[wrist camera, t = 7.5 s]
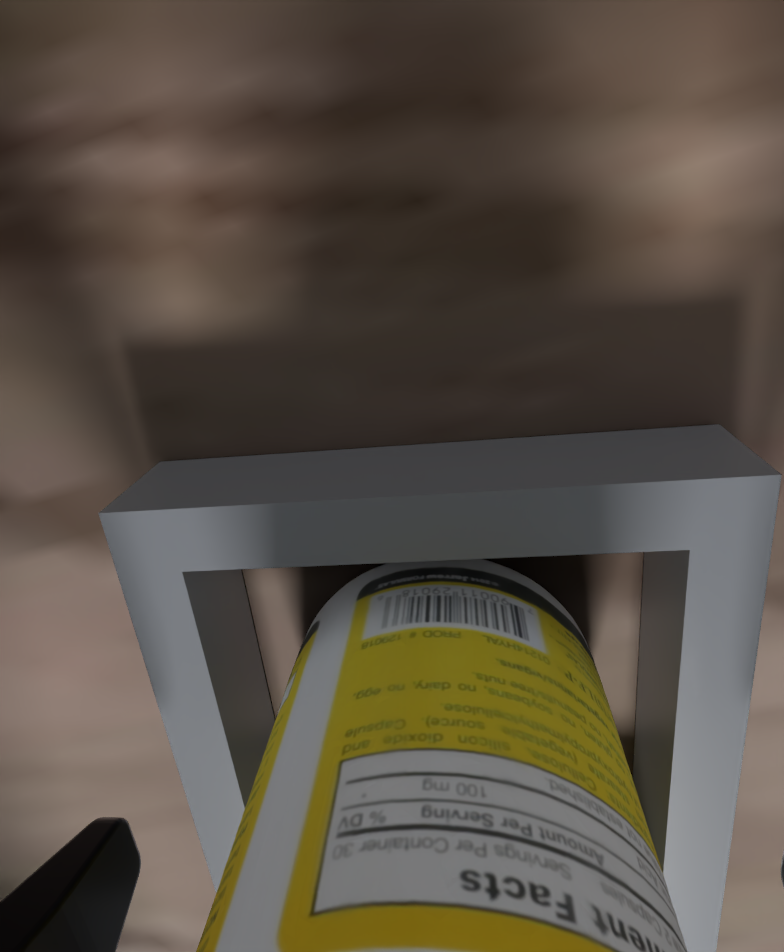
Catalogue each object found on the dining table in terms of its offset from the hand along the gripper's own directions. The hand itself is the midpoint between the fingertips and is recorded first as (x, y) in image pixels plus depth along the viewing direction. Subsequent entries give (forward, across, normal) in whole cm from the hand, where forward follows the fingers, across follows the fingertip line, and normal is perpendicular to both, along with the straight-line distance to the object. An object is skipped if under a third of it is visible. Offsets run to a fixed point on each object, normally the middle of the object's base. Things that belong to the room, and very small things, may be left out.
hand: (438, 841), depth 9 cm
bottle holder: (+4, 0, +6) cm, 7 cm away
